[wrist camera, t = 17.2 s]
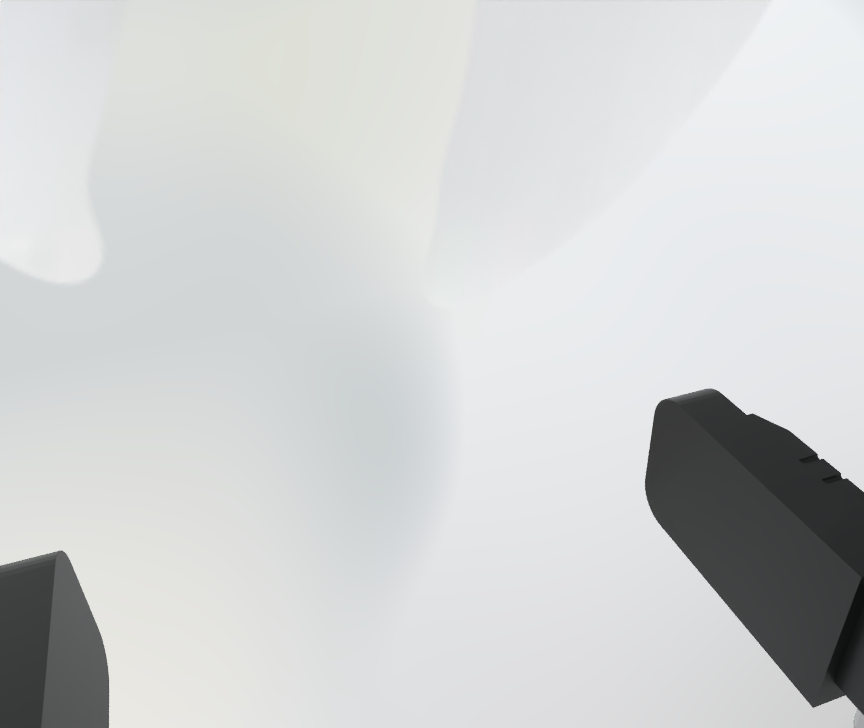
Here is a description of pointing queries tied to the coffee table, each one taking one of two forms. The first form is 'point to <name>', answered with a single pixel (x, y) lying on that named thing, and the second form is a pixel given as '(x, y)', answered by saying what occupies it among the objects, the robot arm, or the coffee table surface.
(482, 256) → the coffee table surface
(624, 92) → the coffee table surface
